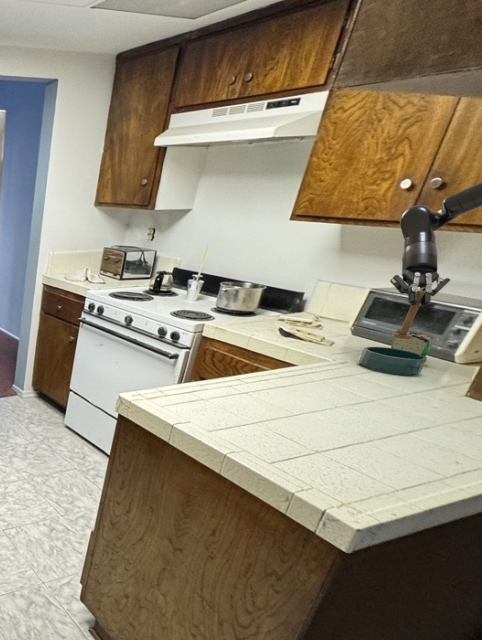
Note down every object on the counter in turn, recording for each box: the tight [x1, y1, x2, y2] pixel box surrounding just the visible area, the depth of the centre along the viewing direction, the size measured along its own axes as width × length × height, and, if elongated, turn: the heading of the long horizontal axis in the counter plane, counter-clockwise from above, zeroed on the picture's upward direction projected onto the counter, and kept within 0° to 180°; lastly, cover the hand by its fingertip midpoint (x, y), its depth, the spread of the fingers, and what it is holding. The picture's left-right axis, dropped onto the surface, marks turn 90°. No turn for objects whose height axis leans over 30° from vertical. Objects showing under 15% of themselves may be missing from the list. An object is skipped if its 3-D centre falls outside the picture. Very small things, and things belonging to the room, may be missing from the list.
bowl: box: [358, 346, 428, 376], centre depth 153 cm, size 15×15×6 cm
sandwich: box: [390, 328, 438, 357], centre depth 160 cm, size 12×6×10 cm, turn 179°
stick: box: [391, 290, 426, 339], centre depth 147 cm, size 4×4×15 cm
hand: (419, 304), depth 144 cm, fingers closed on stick, 2 cm apart
